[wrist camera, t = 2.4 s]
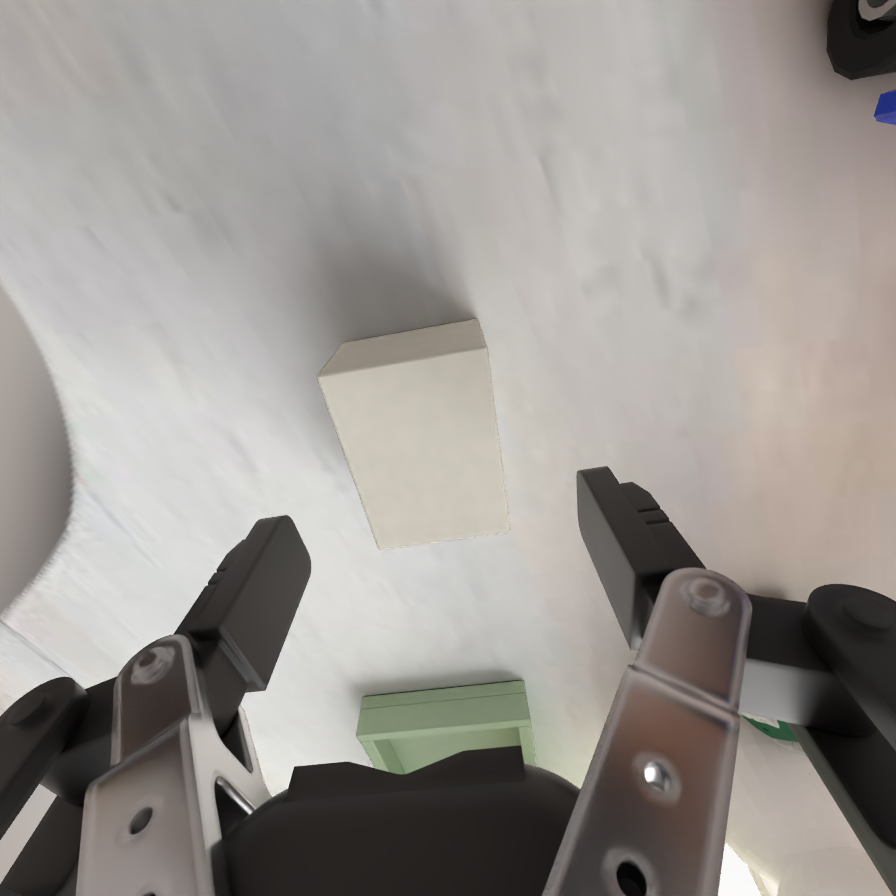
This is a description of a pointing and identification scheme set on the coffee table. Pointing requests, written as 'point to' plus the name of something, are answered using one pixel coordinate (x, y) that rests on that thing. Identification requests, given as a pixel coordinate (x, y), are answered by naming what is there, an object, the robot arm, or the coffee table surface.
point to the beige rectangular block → (420, 433)
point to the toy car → (865, 45)
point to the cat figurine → (793, 826)
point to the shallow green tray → (444, 724)
